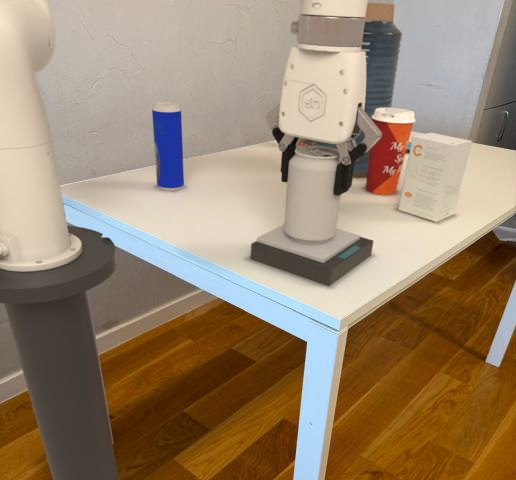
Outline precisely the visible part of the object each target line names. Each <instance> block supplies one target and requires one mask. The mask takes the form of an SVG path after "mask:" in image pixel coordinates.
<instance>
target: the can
mask: <svg viewBox="0 0 516 480" xmlns="http://www.w3.org/2000/svg"><path fill="white" fill-rule="evenodd" d="M295 153H296V154H295V155H294V156H293V157H292V158H291V159H290V161H289V169H288V181H287V182H286V197H285V207H284V208H285V210H284V220H283V225H284V231H285V232H286V233H287V234H288V235H289V237H290V238H291V239H293V240H295V241H297V242H300V243H305V244H321V243H324V242H327V241H328V240H329V239H330V238H332V237H333V236H334V235H335V233H336V229H337V226H338V220H339V211H340V205H341V197H342V194H341V195H339V196H337V195H334V193H333V191H334V183H335V176H336V168H337V165H338V164H340V163H341V158H340V155H339V152H338V150H336V149H333V148H329V147H323V146H303V147H296V149H295Z"/></svg>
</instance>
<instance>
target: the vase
mask: <svg viewBox="0 0 516 480" xmlns="http://www.w3.org/2000/svg"><path fill="white" fill-rule="evenodd" d="M394 15H395V3H385V2H384V3H383V2H367V10H366V16H365V17H362V18H365V25H364V32H363V39H362V46H361V51H365V54H366V96H365V108H364V111H365V113H366V114H367V115H368V116H369V117H370V119H371V120H372V121H373V118H372V115H374V112H375V110H376V109H377V108H393V104H392V103H393V97H394V90H395V84H396V77H397V70H398V64H399V59H400V58H399V57H400V56H399V55H400V51H401V50H400V48H401V42H402V39H403V32H402V31H401V30H400V29H399V28H398V27H397V25H396V24H395V23H394V17H395V16H394ZM364 138H365V134H364V132H363V131H362V130H361V133H360V135H359V136H358V137H357V138H354V140H355V143H356V146H357V145H359V144H360V143H361V142H362V140H363V139H364ZM314 146H323V147H329V148H333V149H336V150H338V149H337V146H336V144H330V143H325V142H319V141H314ZM369 152H370V150H369V151H368V152H367V153H366V154H364V155H363V156H362V157H361V158H359V160H358V161H356V162H355V166H354V172H353V178H367V171H368V162H369Z"/></svg>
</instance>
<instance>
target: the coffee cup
mask: <svg viewBox="0 0 516 480" xmlns="http://www.w3.org/2000/svg"><path fill="white" fill-rule="evenodd" d="M372 118H373V122H374V124H375V125H376V126H377V127H378V128H379V130H380V131H381V132H382V137H381V138H380V139H379V140H378V141H377V142H376V143H375V145H374V146H373V147H371V148H370V152H369V162H368V171H367V177H366V181H365V183H366V184H365V190H366V191H367V192H369V193H371V194H375V195H380V196H390V195H393V194H395V193H396V191H397V188H398V184H399V181H400V176H401V172H402V168H403V165H404V160H405V157H406V154H407V153H406V149H407V146H408V142H410V137H411V133H412V129H413V125H414V123H415V122H416V118H415V112H414V111H413V110H410V109H406V108H399V107H391V108H377V109H376V110H375V112H374V115H372Z"/></svg>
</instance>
